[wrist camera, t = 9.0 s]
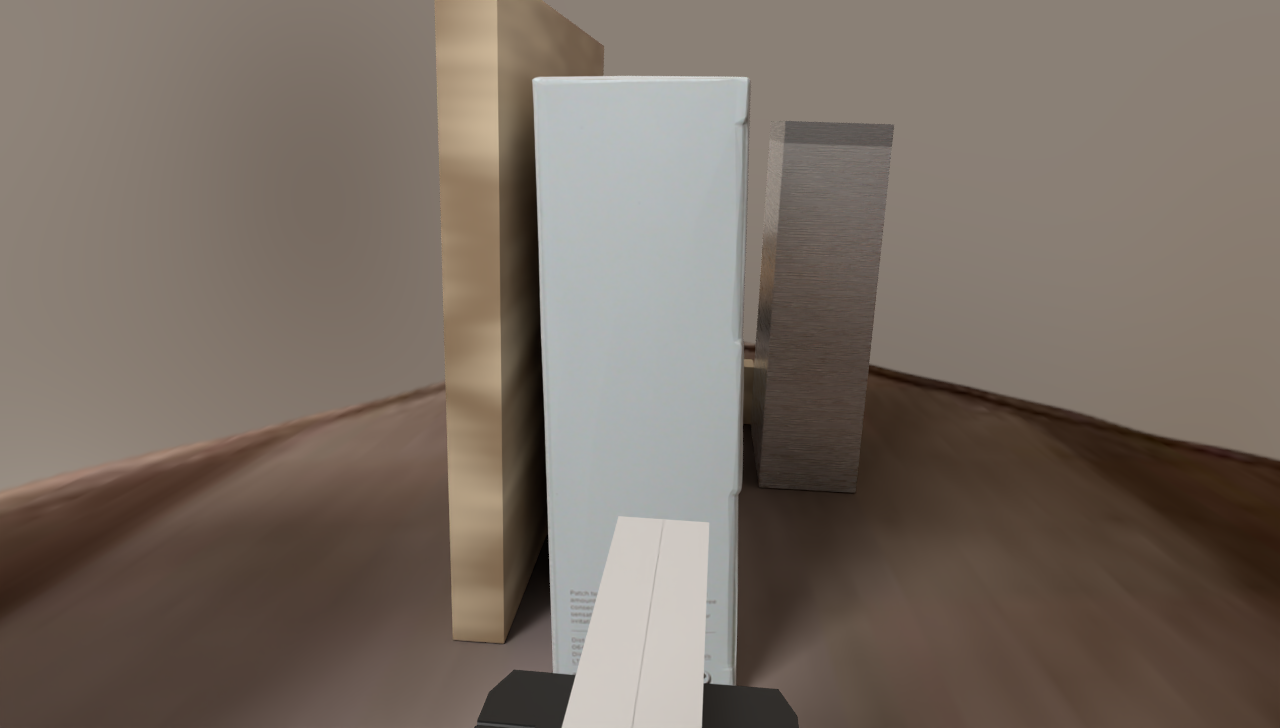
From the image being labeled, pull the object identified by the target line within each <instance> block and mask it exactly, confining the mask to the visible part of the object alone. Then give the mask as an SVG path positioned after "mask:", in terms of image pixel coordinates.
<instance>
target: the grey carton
mask: <svg viewBox="0 0 1280 728" xmlns="http://www.w3.org/2000/svg"><path fill="white" fill-rule="evenodd" d="M893 130H894V125H890V124H888V125H887V124H858V123H826V122H796V121H773V122H772V121H771V128H770V143H769V158H768V172H767V187H766V201H765V216H764V231H763V245H762V259H761V260H762V261H761V275H760V289H759V304H758V318H757V332H756V347H755V361H754V376H753V391H752V405H751V420H750V427H751V434H752V441H753V448H754V455H755V462H756V470H757V477H758V484H759V487H764V488H781V489H798V490H815V491H832V492H849V493H856V484H857V474H858V465H859V455H860V445H861V436H862V426H863V417H864V407H865V398H866V388H867V379H868V369H869V359H870V350H871V340H872V331H873V321H874V311H875V302H876V293H877V283H878V274H879V264H880V254H881V245H882V235H883V226H884V216H885V206H886V197H887V188H888V178H889V177H888V176H889V168H890V159H891V149H892V139H893Z"/></svg>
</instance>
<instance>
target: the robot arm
mask: <svg viewBox="0 0 1280 728" xmlns="http://www.w3.org/2000/svg"><path fill="white" fill-rule="evenodd" d="M708 545H709V522H696V521H682V520H667V519H653V518H638V517H624V516H618V520H617V524H616V528H615V531H614V535H613V539H612V542H611V546H610V550H609V554H608V557H607V561H606V565H605V568H604V572H603V576H602V580H601V583H600V587H599V591H598V595H597V598H596V602H595V606H594V609H593V613H592V617H591V621H590V624H589V628H588V632H587V635H586V639H585V643H584V647H583V650H582V654H581V658H580V662H579V665H578V669H577V673H576V675H570V674H558V673H547V672H535V671H523V670H513V671H512V672H511V673H510V674H509V675H508V676H507V677H505V678H504V679H503V680H502V681H501V682H500V683H499V684H498V685H497V686H496V687H494V688H493V689H492V690H491V691H490V692H489V694H488V696H487V698H486V701H485V703H484V706H483V708H482V711H481V713H480V715H479V718H478V720H477V726H475V727H474V728H799V725H798V717H797V715H796V714H795V712H794V711H793V709H792V708H791V706H790V705H789V704H788V702H787V701H786V699H785V698H784V697H783V695H782V694H781V692H780V691H779V690H778V689H769V688H758V687H746V686H734V685H722V684H710V683H703V682H704V654H705V627H706V599H707V572H708Z"/></svg>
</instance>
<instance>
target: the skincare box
mask: <svg viewBox="0 0 1280 728" xmlns="http://www.w3.org/2000/svg"><path fill="white" fill-rule="evenodd" d="M532 84H533V103H534V130H535V158H536V186H537V213H538V241H539V276H540V314H541V344H542V368H543V393H544V417H545V446H546V477H547V507H548V537H549V567H550V596H551V625H552V655H553V673H558V674H570V675H576V673H577V669H578V665H579V662H580V658H581V654H582V650H583V647H584V643H585V639H586V635H587V632H588V628H589V624H590V621H591V617H592V613H593V609H594V606H595V602H596V598H597V595H598V591H599V587H600V583H601V580H602V576H603V572H604V568H605V565H606V561H607V557H608V554H609V550H610V546H611V542H612V539H613V535H614V531H615V528H616V524H617V520H618V516H624V517H638V518H653V519H667V520H682V521H696V522H709V545H708V572H707V599H706V627H705V654H704V682H703V683H710V684H722V685H734V686H736V655H737V613H738V494H739V493H740V491H741V489H742V472H743V396H744V341H743V317H744V289H745V287H744V286H745V261H746V234H747V201H748V164H749V126H750V91H751V81H750V80H749V78H748V77H699V76H696V77H695V76H694V77H693V76H575V77H536V78H534V79H533V80H532Z"/></svg>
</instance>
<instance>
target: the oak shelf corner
mask: <svg viewBox="0 0 1280 728" xmlns="http://www.w3.org/2000/svg"><path fill="white" fill-rule="evenodd" d="M435 30H436V63H437V64H436V65H437V99H438V132H439V133H438V135H439V168H440V202H441V203H440V205H441V237H442V238H441V240H442V275H443V308H444V345H445V380H446V415H447V450H448V485H449V520H450V555H451V590H452V625H453V640H463V641H477V642H491V643H504V642H505V640H506V637H507V635H508V632H509V630H510V627H511V625H512V622H513V619H514V617H515V614H516V612H517V609H518V607H519V604H520V602H521V599H522V596H523V594H524V591H525V589H526V586H527V584H528V581H529V579H530V576H531V574H532V571H533V568H534V566H535V563H536V561H537V558H538V556H539V553H540V551H541V548H542V545H543V543H544V540H545V538H546V535H547V533H548V507H547V477H546V446H545V417H544V393H543V368H542V344H541V314H540V276H539V241H538V213H537V186H536V158H535V130H534V103H533V84H532V80H533V79H534V78H536V77H575V76H603V67H604V46H603V45H602V44H600V43H599V42H598V41H596V40H595V39H594V38H592V37H591V36H590V35H588V34H587V33H585V32H584V31H583V30H581V29H580V28H579V27H577V26H576V25H575V24H573V23H572V22H571V21H569V20H568V19H566V18H565V17H564V16H562V15H561V14H560V13H558V12H557V11H556V10H554V9H553V8H552V7H550V6H549V5H548V4H546V3H545V2H543V1H542V0H435ZM753 376H754V364H753V360H752V359H744V396H743V424H750V420H751V405H752V391H753Z"/></svg>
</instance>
